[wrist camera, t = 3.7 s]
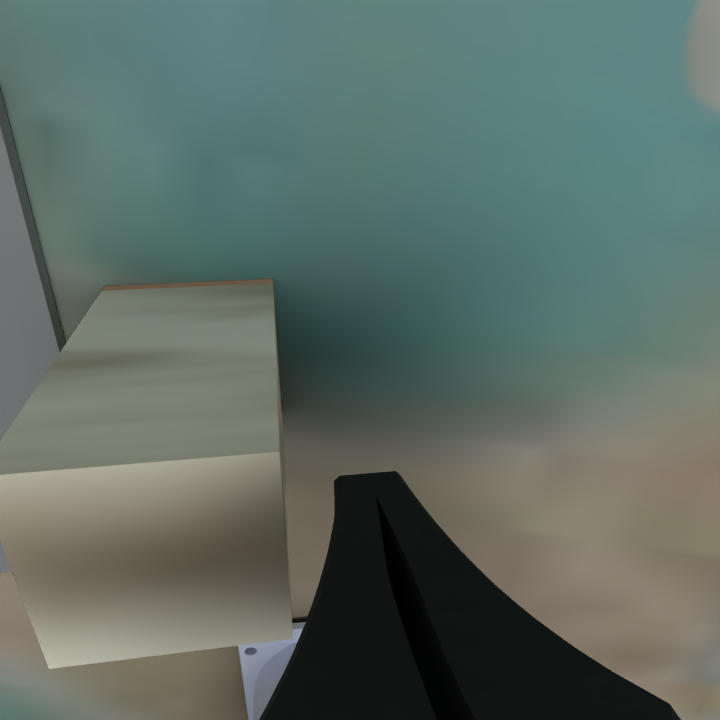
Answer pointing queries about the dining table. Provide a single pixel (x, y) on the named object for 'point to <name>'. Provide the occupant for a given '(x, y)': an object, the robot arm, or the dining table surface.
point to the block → (153, 478)
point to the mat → (21, 295)
